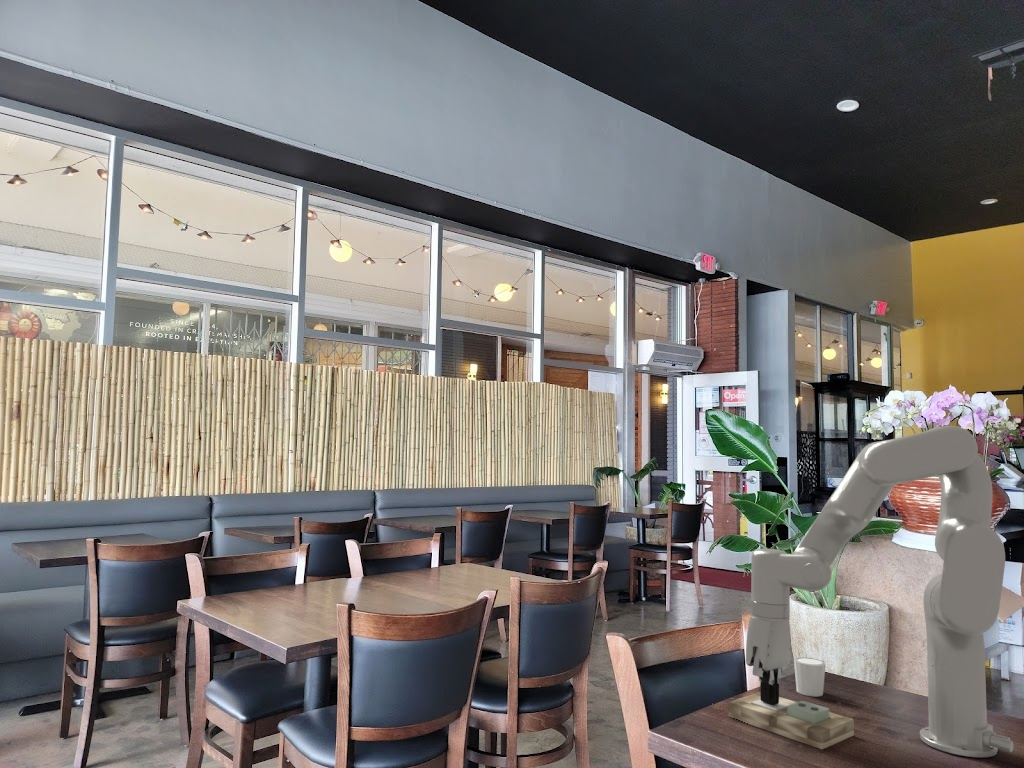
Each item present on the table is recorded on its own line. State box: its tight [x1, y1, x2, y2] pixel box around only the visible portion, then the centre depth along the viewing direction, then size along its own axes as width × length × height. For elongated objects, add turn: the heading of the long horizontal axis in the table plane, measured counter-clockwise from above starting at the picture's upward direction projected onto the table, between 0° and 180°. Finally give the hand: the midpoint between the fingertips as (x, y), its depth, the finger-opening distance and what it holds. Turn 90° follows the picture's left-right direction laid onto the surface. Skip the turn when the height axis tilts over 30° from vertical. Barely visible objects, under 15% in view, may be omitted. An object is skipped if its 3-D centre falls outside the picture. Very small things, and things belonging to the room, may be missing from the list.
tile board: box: [728, 691, 855, 750], centre depth 146 cm, size 20×12×3 cm, turn 39°
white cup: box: [793, 657, 826, 697], centre depth 168 cm, size 7×7×7 cm
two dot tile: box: [787, 700, 830, 724], centre depth 143 cm, size 6×6×2 cm
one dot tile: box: [751, 699, 790, 712], centre depth 149 cm, size 6×6×2 cm
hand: (769, 702), depth 150 cm, fingers closed
